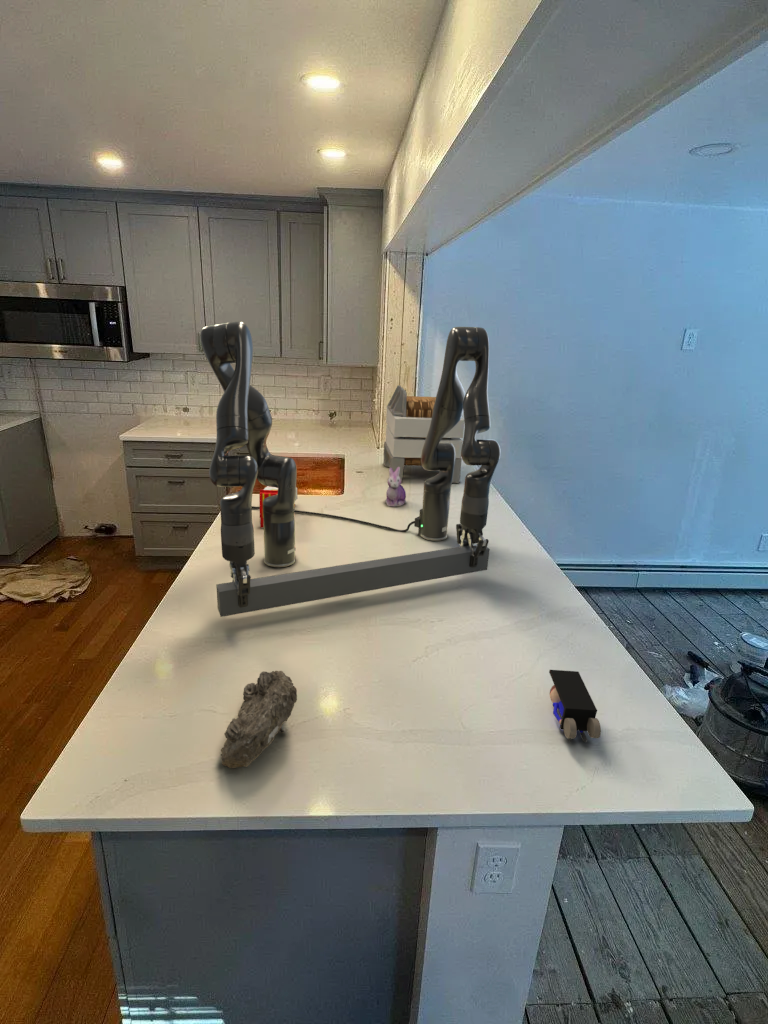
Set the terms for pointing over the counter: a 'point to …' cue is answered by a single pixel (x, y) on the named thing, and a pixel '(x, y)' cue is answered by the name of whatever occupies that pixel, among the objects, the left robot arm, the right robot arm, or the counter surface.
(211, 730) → the counter surface
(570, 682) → the figurine character
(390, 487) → the figurine
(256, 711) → the fossil
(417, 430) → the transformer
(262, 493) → the toy
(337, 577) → the beam
